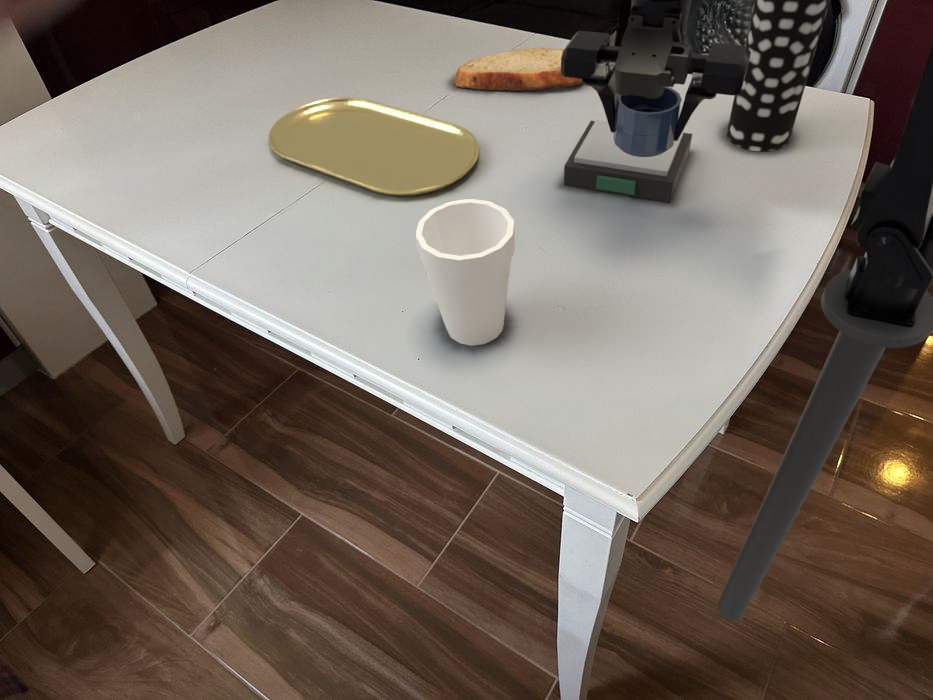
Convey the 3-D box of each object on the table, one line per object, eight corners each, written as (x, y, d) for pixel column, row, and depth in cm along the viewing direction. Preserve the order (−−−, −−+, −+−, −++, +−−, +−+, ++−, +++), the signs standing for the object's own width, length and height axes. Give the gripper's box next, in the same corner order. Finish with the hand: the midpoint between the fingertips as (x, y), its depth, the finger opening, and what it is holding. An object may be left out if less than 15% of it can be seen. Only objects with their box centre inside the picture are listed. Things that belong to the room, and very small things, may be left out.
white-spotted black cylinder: (722, 147, 94) (754, -8, 79) (730, 117, 99) (762, -33, 84) (787, 155, 91) (833, -3, 77) (792, 124, 96) (836, -30, 82)
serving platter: (329, 96, 114) (326, 87, 113) (505, 147, 99) (504, 137, 97) (245, 150, 104) (242, 141, 103) (426, 216, 89) (425, 206, 88)
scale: (689, 153, 94) (693, 128, 91) (669, 205, 86) (673, 179, 83) (589, 139, 98) (591, 115, 95) (562, 187, 91) (563, 162, 88)
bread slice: (445, 81, 114) (443, 59, 112) (527, 46, 121) (527, 24, 118) (514, 119, 104) (513, 95, 101) (599, 78, 110) (601, 55, 108)
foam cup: (489, 368, 70) (480, 271, 60) (415, 338, 74) (396, 242, 64) (533, 310, 75) (531, 213, 66) (462, 285, 79) (451, 190, 69)
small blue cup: (679, 132, 80) (686, 87, 76) (667, 163, 76) (674, 117, 72) (621, 125, 82) (625, 80, 78) (606, 154, 78) (610, 109, 74)
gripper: (545, 15, 65) (544, 160, 76) (751, 32, 59) (717, 186, 70) (578, -27, 72) (573, 111, 83) (766, -16, 66) (733, 132, 77)
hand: (644, 134), depth 78 cm, fingers closed on small blue cup, 7 cm apart
